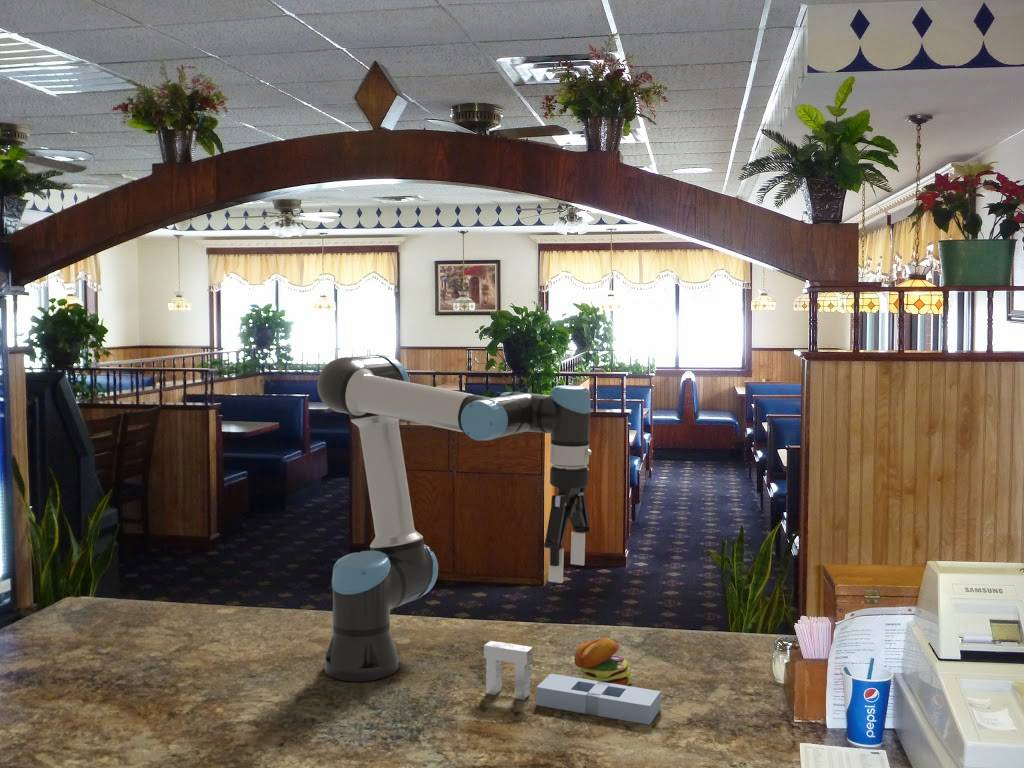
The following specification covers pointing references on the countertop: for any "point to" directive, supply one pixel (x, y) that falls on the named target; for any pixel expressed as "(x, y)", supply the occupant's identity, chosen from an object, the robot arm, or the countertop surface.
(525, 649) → the clip
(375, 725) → the countertop surface
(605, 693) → the rail
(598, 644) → the cheeseburger
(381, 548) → the robot arm
